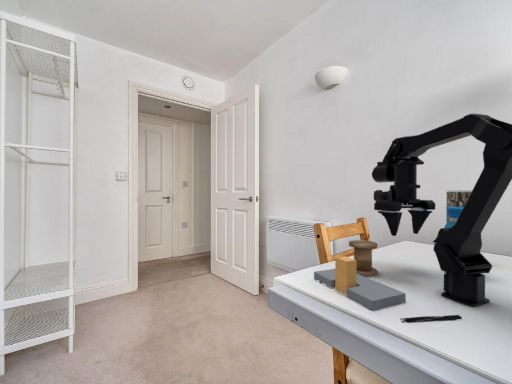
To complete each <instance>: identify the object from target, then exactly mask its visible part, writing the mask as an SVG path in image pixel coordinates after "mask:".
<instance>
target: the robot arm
mask: <svg viewBox="0 0 512 384" xmlns="http://www.w3.org/2000/svg"><path fill="white" fill-rule="evenodd" d="M470 136H471V137H473V138H475V139H476V140H477V141H479V142H481V143H483V144H484V148H483V151H482V158H483V169H482V170H481V173H480V174H479V177H478V179H477V180H476V182H475V184H474V187H473V189H472V190H471V191H472V192H471V194H470V196H469V198H468V200H467V202H466V204H465V206H464V208H463V210H462V211H461V213H460V215H459V217H458V219H457V221H456V223H455V225H454V226H453V227H451V228H444V227H441V228H439V230H438V231H437V236H436V238H435V239H434V240H433V241H432V243H434V245H433V252H434V254H435V256H436V258H437V261H438V265H439V268H440V270H441V271H442V272H444V271H445V272H446V273H445V272H444V274H443V292H441V296H442V297H445V298H448V299H451V300H454V301H456V302H460V303H462V304H465V305H467V306H470V307H477V306H480V305H483V304H487V303H490V299H489V298H487V297H486V274H490V272H491V270H492V269H493V264H492V263H491V262H490V261H489V260H488V259H487V258H486V256H484V255H483V254H482V253H481V249H482V248H483V247H482V246H483V241H482V232H483V230H484V228H486V227H485V226H486V225H487V224H488V222H489V220H490V219H491V217H492V214H493V213H494V212H495V210H496V208H497V205H498V204H499V202H500V201H501V199H502V197H503V195H504V194H505V192H506V191H507V188H508V186H509V185H510V183H511V181H512V123H509V122H505V121H503V120H499V119H496V118H494V117H493V116H490V115H488V114H483V113H481V114H480V113H474V112H473V113H469V114H466V115H464V116H463V117H461V118H459V119H455V120H454V121H451V122H448V123H446V124H443V125H441V126H438V127H436V128H433V129H430V130H428V131H425V132H423V133H420V134H417V135H408V136H401V137H396V138H394V139H393V140H392V142H391V144H390V146H389V148H388V150H387V151H386V153H385V155H384V156H383V159H382V160H381V161H377V162H376V166H375V167H374V168H373V169H372V172H371V177H372V179H373V181H374V182H376V183H393V184H390V186H389V189H388V190H387V191H383V190H382V189H377V190H374V191H373V201H375V202H374V204H373V206H374V207H373V210H374V211H377V213H378V214H381V216H382V217H384V219H385V221H386V224H387V226H388V229H389V232H390V234H391V236H392V237H396V236H397V234H398V231H399V226H400V224H401V219H402V217H403V216H402V215H403V212H400V211H401V210H402V209H407V212H408V213H409V214H410V215H411V227H412V232H413V233H412V234H415V235H418V234H419V232H420V231H421V229H422V227H423V226H424V224H425V222H426V220H427V219H428V218H429V216H430V215H431V214H432V213H433V211H435V210H436V202H435V201H434V200H431V199H430V200H429V199H421V198H418V197H417V195H418V194H417V193H418V192H417V190H418V189H421V184H418V183H417V181H418V179H417V178H418V177H417V176H418V175H417V173H418V172H417V171H418V170H417V169H418V168H417V166H421V165H424V164H425V161H423V160H422V159H420V158H419V156H422V155H424V154H425V153H426V152H427V151H428V150H430V149H432V148H435V147H439V146H441V145H445V144H448V143H451V142H454V141H457V140H461V139H463V138H464V139H465V138H467V137H470ZM463 263H464V264H463Z"/></svg>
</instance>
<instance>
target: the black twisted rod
mask: <svg viewBox="0 0 512 384" xmlns="http://www.w3.org/2000/svg"><path fill="white" fill-rule="evenodd" d="M454 319H462V316H461V315H459V314H451V315H441V316H440V315H437V316H435V315H431V316H429V315H427V316H415V317H403V318H399V320H400V321H401V323H410V324H411V323H418V322H419V323H420V322H444V321H445V322H446V321H452V320H454Z"/></svg>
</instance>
